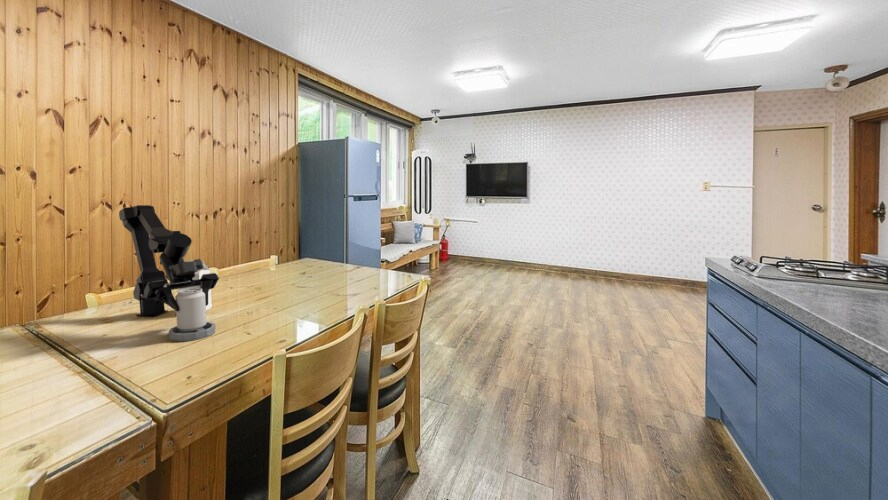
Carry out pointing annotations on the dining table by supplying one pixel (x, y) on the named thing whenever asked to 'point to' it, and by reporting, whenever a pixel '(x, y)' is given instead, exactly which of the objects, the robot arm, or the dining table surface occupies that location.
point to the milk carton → (198, 276)
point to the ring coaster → (192, 333)
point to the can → (191, 309)
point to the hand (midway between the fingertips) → (193, 307)
